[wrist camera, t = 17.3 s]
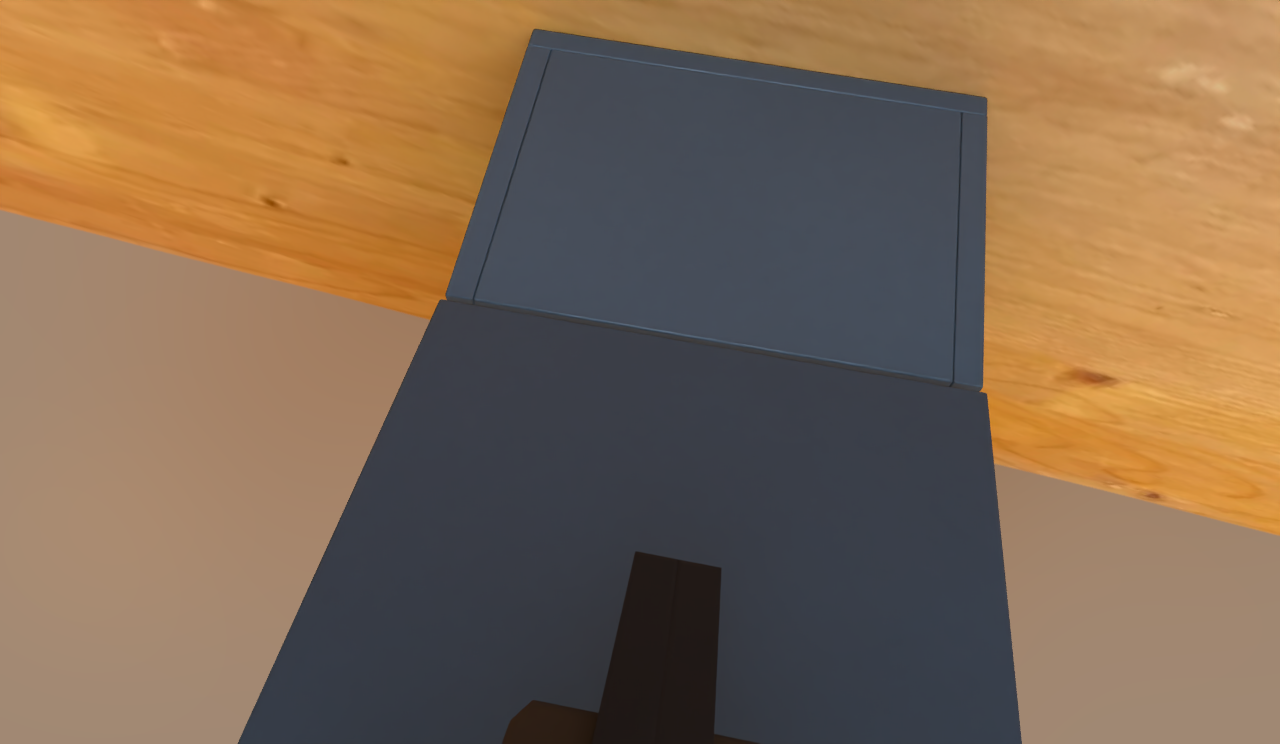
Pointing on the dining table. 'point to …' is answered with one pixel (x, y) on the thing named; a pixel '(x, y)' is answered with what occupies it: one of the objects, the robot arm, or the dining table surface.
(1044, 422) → the dining table surface
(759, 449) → the lid
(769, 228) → the box
